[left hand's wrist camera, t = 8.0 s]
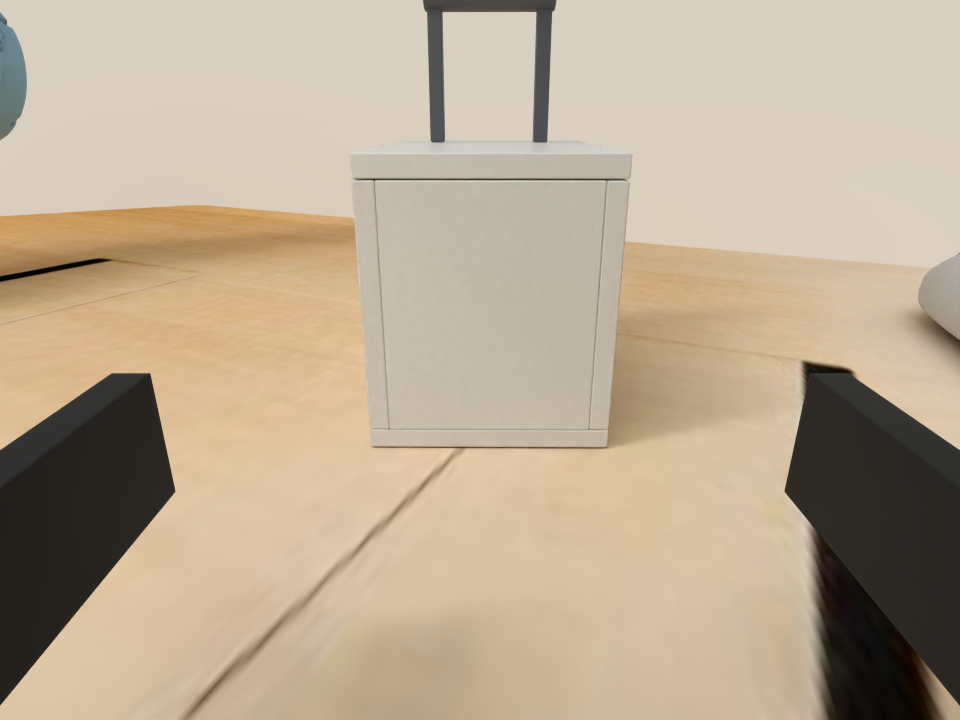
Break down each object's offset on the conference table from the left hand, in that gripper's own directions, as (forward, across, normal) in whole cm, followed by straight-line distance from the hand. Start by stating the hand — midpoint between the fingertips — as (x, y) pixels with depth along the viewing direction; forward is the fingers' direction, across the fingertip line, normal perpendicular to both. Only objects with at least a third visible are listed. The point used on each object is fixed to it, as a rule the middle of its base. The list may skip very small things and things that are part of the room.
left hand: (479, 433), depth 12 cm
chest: (+18, 0, -7) cm, 19 cm away
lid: (+18, 0, +4) cm, 19 cm away
